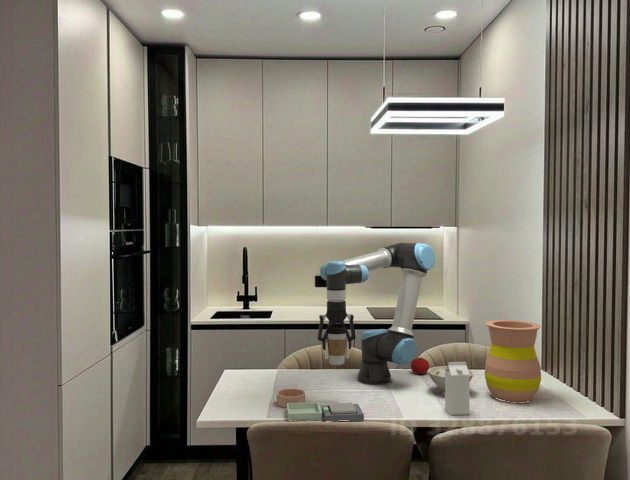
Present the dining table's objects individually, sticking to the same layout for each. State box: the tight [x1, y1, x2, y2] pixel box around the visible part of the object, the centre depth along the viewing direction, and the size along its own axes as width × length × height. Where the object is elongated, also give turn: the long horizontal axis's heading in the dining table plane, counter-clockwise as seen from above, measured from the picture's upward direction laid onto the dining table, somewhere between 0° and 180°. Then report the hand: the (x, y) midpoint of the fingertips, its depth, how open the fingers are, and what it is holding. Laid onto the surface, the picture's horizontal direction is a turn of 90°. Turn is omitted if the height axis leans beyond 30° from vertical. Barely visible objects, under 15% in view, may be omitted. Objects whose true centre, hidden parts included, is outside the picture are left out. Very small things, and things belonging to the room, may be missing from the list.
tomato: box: [410, 357, 430, 375], centre depth 266 cm, size 9×9×8 cm
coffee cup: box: [326, 324, 348, 366], centre depth 221 cm, size 8×8×15 cm
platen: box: [328, 402, 356, 415], centre depth 206 cm, size 9×9×1 cm
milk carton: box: [444, 361, 471, 416], centre depth 211 cm, size 7×7×19 cm
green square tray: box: [286, 401, 323, 421], centre depth 208 cm, size 12×12×3 cm
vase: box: [484, 319, 542, 403], centre depth 229 cm, size 22×22×30 cm
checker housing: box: [321, 403, 365, 422], centre depth 206 cm, size 14×12×3 cm
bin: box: [276, 388, 306, 409], centre depth 221 cm, size 11×11×4 cm
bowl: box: [427, 365, 474, 395], centre depth 235 cm, size 19×19×10 cm
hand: (336, 357), depth 221 cm, fingers closed on coffee cup, 8 cm apart
